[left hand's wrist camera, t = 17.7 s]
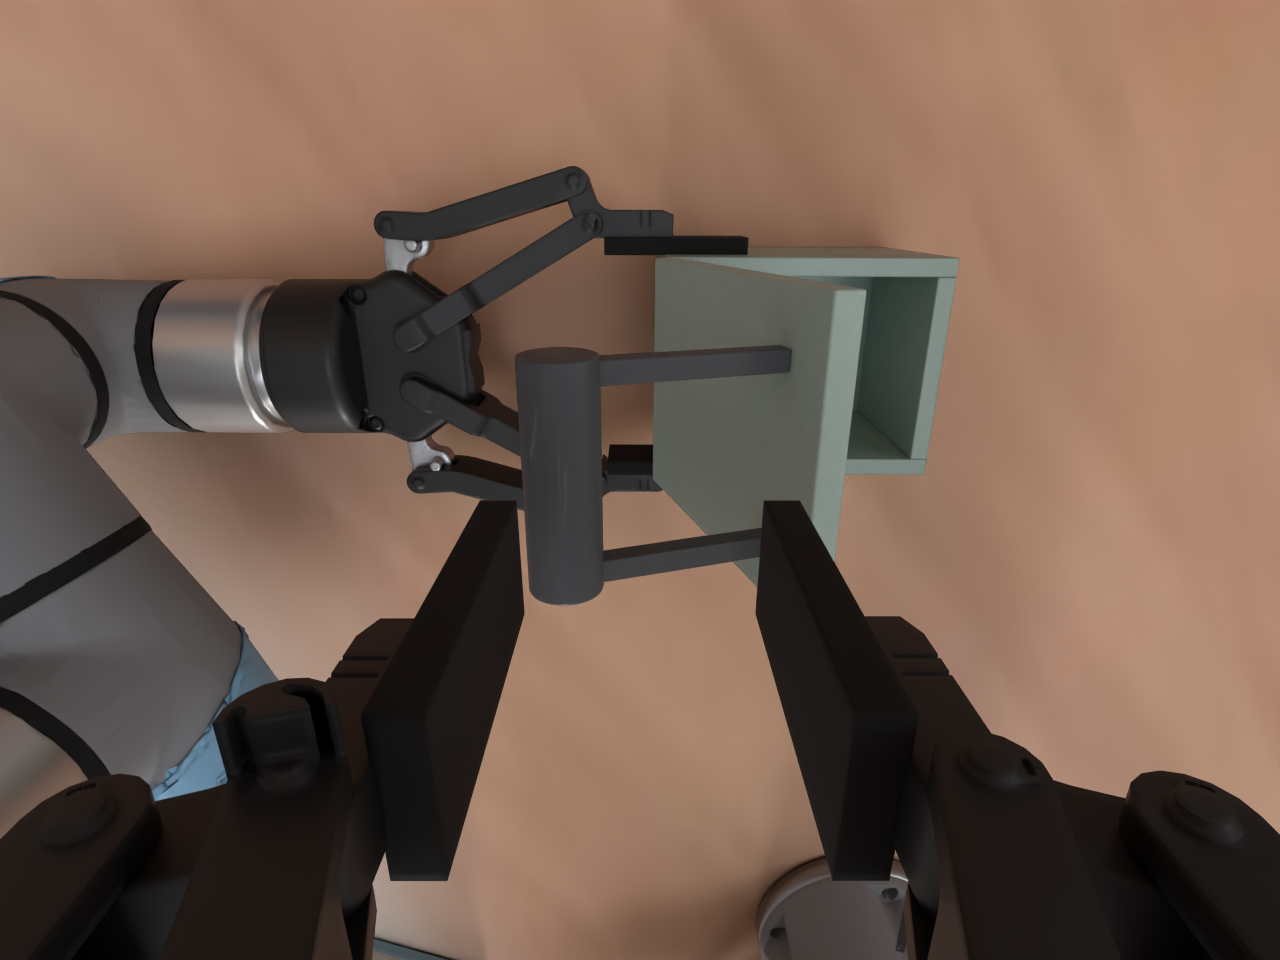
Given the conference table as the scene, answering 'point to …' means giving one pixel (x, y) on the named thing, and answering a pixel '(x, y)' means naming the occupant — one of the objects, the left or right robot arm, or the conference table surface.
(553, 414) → the lid
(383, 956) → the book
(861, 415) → the chest
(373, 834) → the left robot arm
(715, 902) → the conference table surface
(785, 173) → the conference table surface
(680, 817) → the conference table surface
